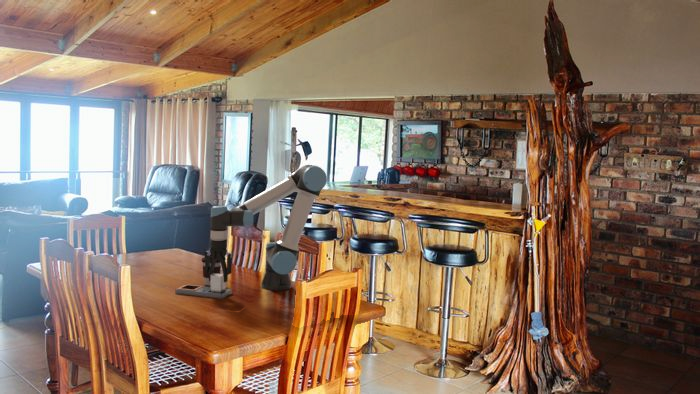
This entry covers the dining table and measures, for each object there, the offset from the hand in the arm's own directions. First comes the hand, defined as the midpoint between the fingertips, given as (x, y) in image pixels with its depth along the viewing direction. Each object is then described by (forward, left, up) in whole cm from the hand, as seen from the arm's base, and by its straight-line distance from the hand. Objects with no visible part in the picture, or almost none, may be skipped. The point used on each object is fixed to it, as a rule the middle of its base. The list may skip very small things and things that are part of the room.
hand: (218, 288), depth 275 cm
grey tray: (+7, 0, -4) cm, 8 cm away
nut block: (0, 0, -3) cm, 3 cm away
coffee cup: (+13, -19, -4) cm, 23 cm away
